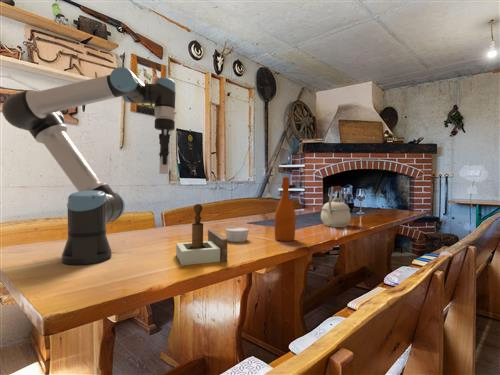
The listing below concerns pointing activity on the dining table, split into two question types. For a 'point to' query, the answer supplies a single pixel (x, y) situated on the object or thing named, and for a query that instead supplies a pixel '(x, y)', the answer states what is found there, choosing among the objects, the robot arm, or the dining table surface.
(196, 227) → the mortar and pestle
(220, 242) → the backstop wall
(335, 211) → the kettle
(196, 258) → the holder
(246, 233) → the ramekin
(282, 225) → the wine bottle
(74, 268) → the dining table surface
